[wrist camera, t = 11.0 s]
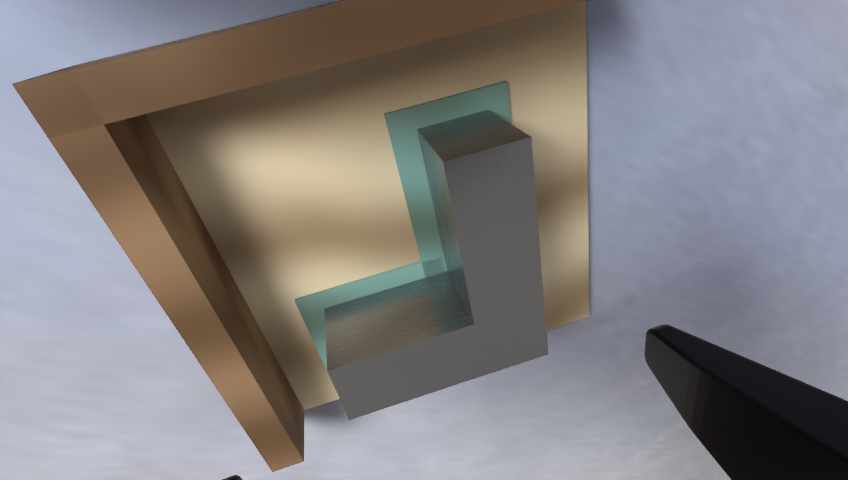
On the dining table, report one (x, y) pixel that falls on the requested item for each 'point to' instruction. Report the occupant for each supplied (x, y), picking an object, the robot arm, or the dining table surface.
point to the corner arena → (315, 172)
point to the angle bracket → (452, 278)
